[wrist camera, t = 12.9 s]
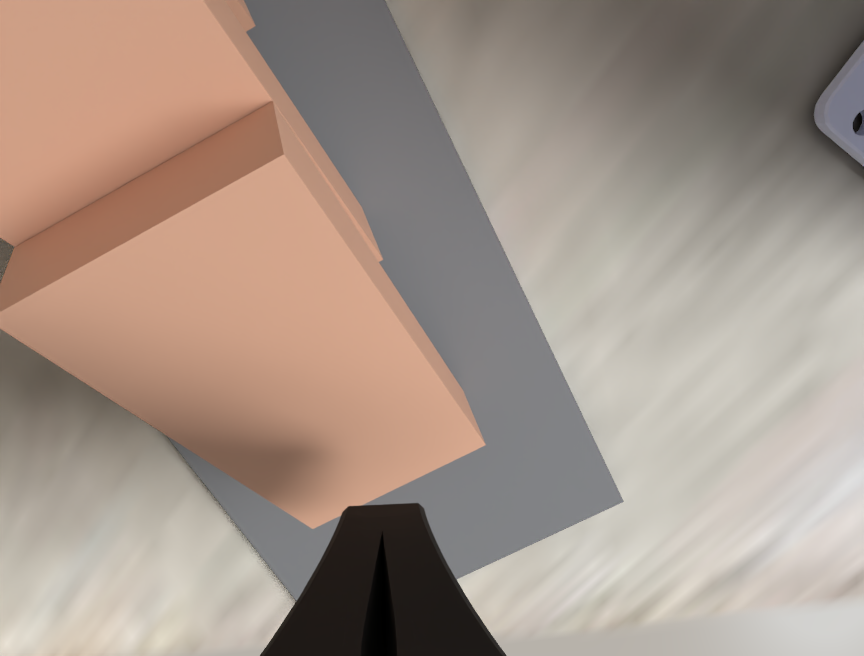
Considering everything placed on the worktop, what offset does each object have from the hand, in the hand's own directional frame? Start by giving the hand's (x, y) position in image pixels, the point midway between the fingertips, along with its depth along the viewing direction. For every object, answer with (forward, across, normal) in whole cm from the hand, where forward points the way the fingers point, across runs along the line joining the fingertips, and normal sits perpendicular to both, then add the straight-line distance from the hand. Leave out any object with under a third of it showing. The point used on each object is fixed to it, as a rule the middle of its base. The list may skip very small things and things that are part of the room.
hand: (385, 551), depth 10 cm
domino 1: (+3, 0, 0) cm, 3 cm away
